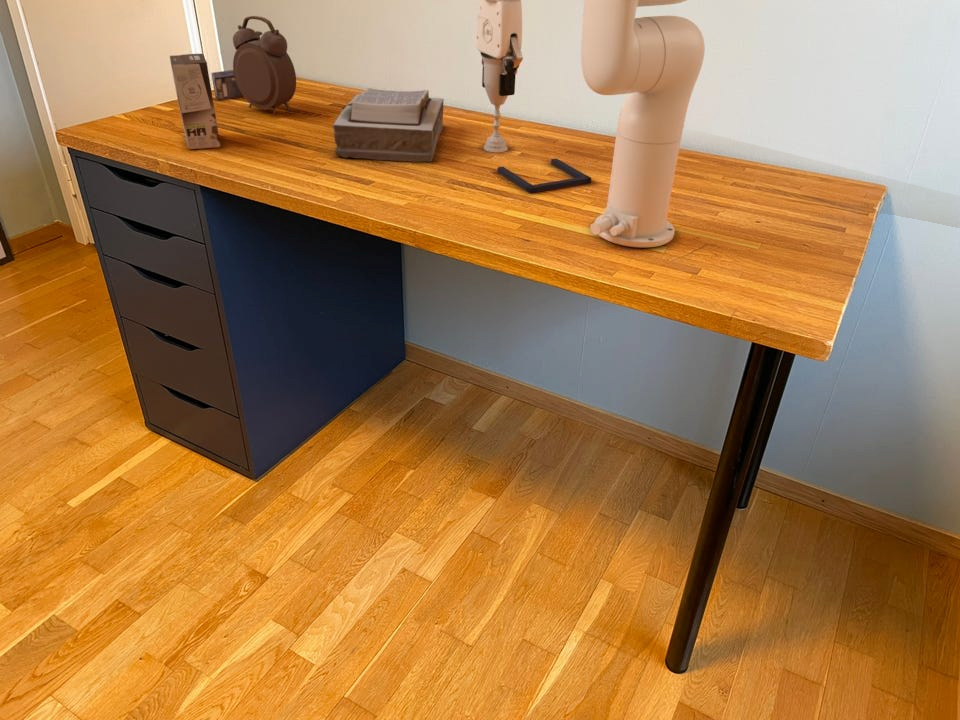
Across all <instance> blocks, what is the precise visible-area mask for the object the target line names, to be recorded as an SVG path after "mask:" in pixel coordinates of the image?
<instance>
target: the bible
mask: <svg viewBox="0 0 960 720" xmlns="http://www.w3.org/2000/svg"><path fill="white" fill-rule="evenodd" d="M429 95H430V94H429V90H428V89H424V90H423V89H422V90H409V91H404V90H403V91H401V90H399V91H397V90H387V89H386V90H384V89H378V88H372V87H371V88H370V87H367V88H366V89H365V90H363V92H361V93H357V94H355V95H354V96H353V97H352V99H351V100H350V101H349V102H348V103H347V104H346V105H343V107H342V108H341V110H342V111H341V112H340V113H339V115H338V117H337V118H336V119H335V121H334V122H333V124H332V127H333V137H334V143H335V145H336V148H335V149H334V152H335V155H336V156H337V157H342V158H344V159H347V158H354V159H370V160H376V161H399V162H415V163H417V162H419V163H420V162H421V163H422V162H423V163H426V162H432V161H433V158H434V155H435V153H436V150H437V149H436V148H437V145H438V140H439V137H440V134H442V133H441V132H442V131H443V128H444V125H443V123H444V122H443V121H444V120H443V119H444V101H445V99H444V98H443V97H442V98H441V97H430V96H429Z"/></svg>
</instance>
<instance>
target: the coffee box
mask: <svg viewBox="0 0 960 720" xmlns="http://www.w3.org/2000/svg"><path fill="white" fill-rule="evenodd" d="M169 61H170V66H171V72H172V76H173V77H172V78H173V83H174V86H175V87H174V88H175V92H176V97H177V103H178V107H179V113H180V119H181V123H182V126H183V133H184V136H185V140H186V145H187V149H188V150H198V149H199V150H201V149H213V148H220V147H221V141H220V134H219V129H218V122H217V116H216V110H215V103H214V98H213V91H212V86H211V80H210V74H209V68H208V62H207V59H206V58H205V55H204V53H185V54H177V55H176V54H175V55H169Z"/></svg>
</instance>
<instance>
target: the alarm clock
mask: <svg viewBox="0 0 960 720" xmlns="http://www.w3.org/2000/svg"><path fill="white" fill-rule="evenodd" d="M250 20H256V21H261V22H263V23H264V24H266V25H267V26H268V28H269V30H267V31H265V32H264V33H263V32H262V31H260V30H254V29H252V28H250V27H247V26H248V24H249V23H248V22H249V21H250ZM242 21H243V22H242V25H241V24H238V25H237V29H238V30H237V31H236V32H235V33H234V34H233V37H232V43H233V47H234V49H235V52H234V55H233V59H232V70H233V71H234V77H235V80H236V83H237V86H238V88H239V90H240V92H241V94H242V95H243V98H244V100H245V101H247V103H249V105H248V108H249V109H252V107H254V108H255V109H259V110H270V109H272V111H273V114H274V115H277V111H276V108H278V107H280V106H285V108H286V109H287V112H288V113H291V109H290V106H289V103H288V102H290V101H291V100H292V99H293V97H294V96H295V93H296V88H297V75H296V69H295V66H294V63H293V60H292V58H291V57H290V55H289V54H288V52H287V51H288V42H287V39H286V38H285V36H284V35H283V34H282V33H280V30H279V29H275V27H274V25H273V23H272V21H271V20H269V19H268V18H266V17H263V16H259V15H250V16H246V17H244V19H243V20H242Z"/></svg>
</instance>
